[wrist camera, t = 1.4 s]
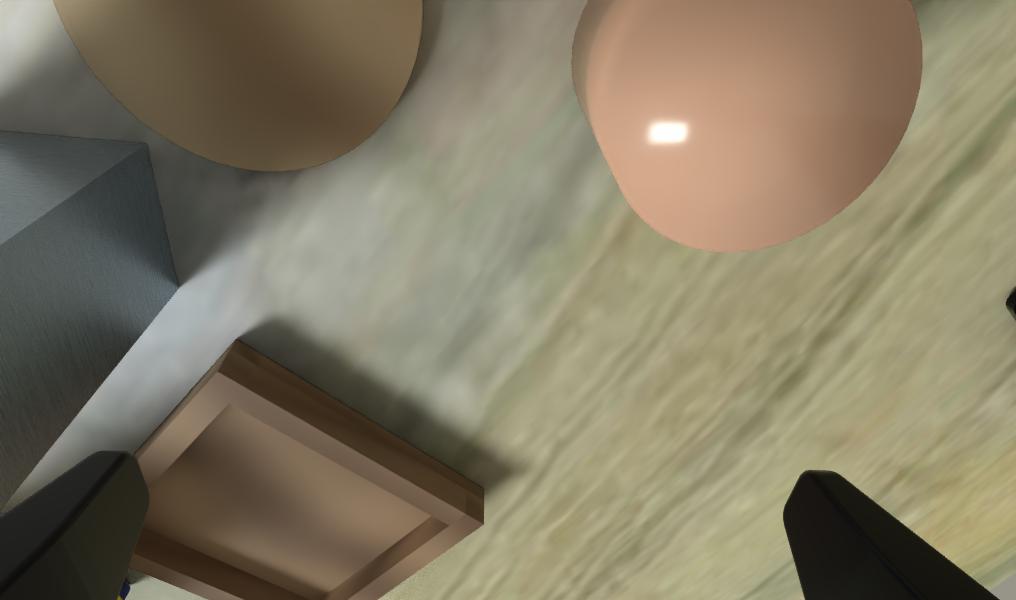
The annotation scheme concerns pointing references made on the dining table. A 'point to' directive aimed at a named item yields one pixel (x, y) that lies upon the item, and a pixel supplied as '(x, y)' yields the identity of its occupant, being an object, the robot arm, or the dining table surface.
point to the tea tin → (71, 281)
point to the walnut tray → (290, 493)
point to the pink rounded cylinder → (745, 109)
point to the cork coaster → (252, 71)
